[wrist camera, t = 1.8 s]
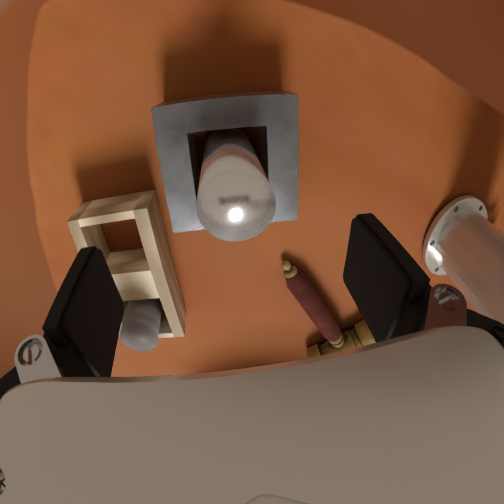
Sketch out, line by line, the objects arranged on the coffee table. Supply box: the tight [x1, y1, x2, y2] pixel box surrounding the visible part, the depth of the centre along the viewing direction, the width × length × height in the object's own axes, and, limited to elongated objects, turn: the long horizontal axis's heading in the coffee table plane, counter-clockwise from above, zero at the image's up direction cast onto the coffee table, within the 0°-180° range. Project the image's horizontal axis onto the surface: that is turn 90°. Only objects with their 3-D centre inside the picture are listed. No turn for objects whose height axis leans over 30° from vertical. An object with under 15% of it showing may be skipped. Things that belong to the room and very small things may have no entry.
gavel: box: [282, 261, 376, 358], centre depth 36 cm, size 21×5×10 cm
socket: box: [151, 91, 298, 233], centre depth 22 cm, size 10×10×5 cm
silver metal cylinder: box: [196, 128, 276, 241], centre depth 19 cm, size 4×4×12 cm
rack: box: [67, 190, 186, 351], centre depth 27 cm, size 8×16×7 cm, turn 3°
